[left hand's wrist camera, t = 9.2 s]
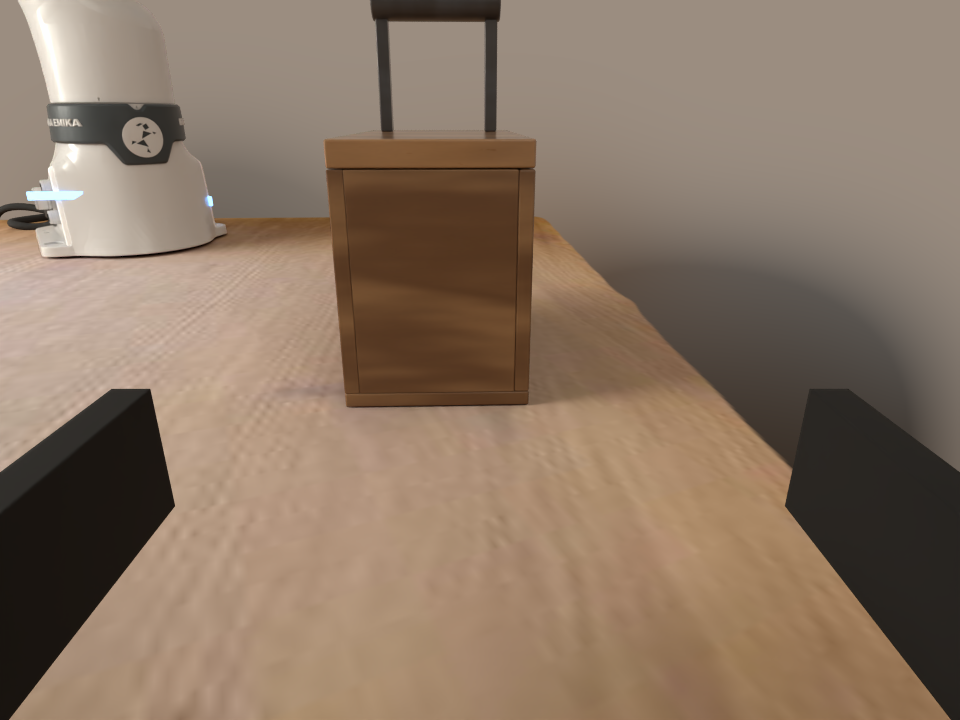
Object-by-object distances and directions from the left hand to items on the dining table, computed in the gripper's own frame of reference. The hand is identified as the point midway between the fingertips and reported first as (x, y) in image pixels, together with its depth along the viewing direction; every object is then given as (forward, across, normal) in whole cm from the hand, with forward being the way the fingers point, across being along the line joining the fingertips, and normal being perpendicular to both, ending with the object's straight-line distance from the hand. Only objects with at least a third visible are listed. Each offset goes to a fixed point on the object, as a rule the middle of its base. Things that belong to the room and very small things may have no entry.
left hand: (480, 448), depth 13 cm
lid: (+25, -2, +4) cm, 25 cm away
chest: (+24, -2, -7) cm, 25 cm away
